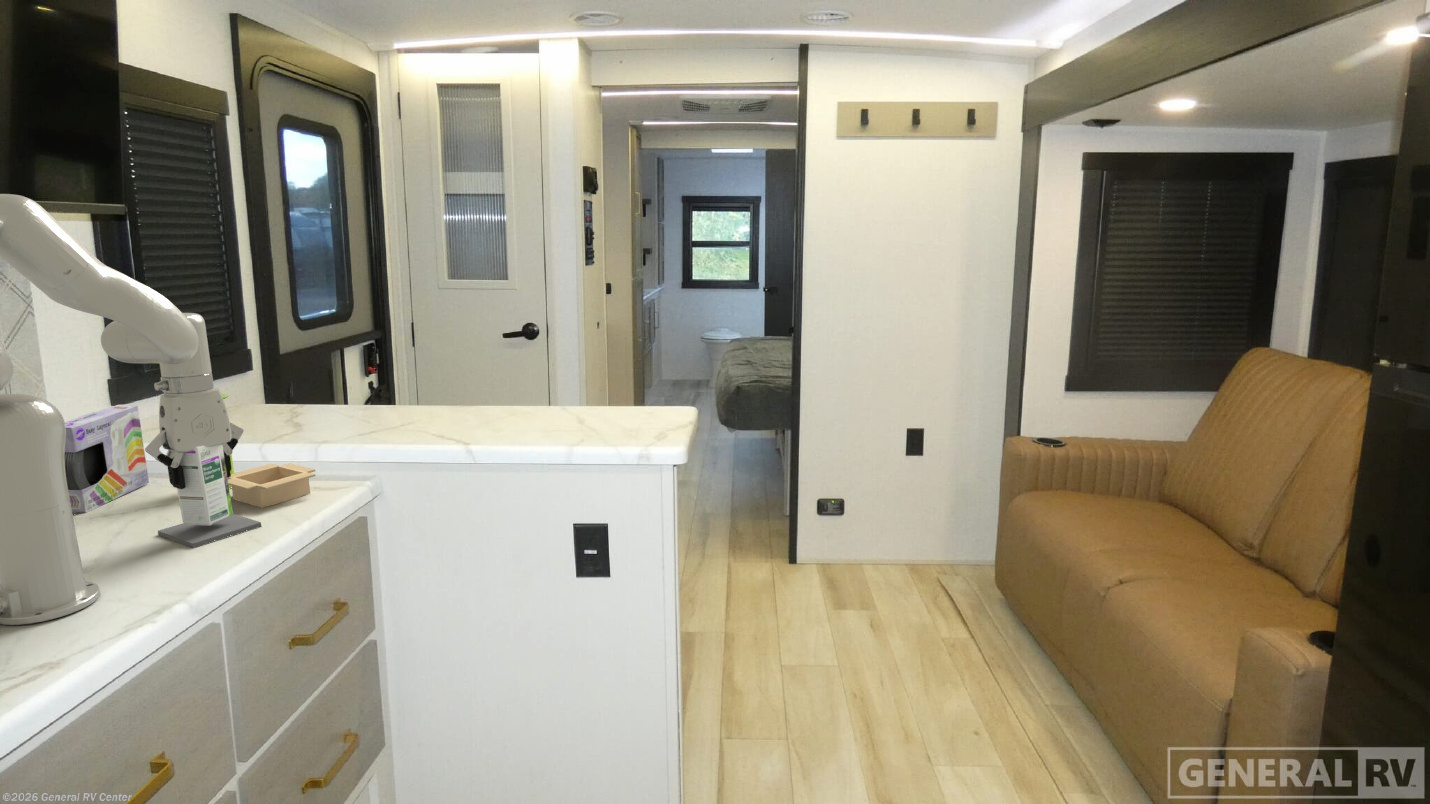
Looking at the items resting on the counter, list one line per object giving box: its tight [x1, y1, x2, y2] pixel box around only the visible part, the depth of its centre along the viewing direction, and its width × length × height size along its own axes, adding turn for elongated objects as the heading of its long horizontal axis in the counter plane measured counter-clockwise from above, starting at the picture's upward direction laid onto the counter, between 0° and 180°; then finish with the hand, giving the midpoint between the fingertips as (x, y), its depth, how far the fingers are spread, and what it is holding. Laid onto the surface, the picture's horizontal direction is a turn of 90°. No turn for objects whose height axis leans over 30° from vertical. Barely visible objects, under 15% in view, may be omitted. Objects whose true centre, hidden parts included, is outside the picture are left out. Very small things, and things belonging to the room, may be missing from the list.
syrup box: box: [176, 445, 234, 526], centre depth 152 cm, size 6×6×14 cm
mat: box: [157, 513, 262, 549], centre depth 154 cm, size 12×12×1 cm
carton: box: [228, 462, 316, 509], centre depth 173 cm, size 14×15×4 cm
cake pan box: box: [64, 404, 150, 514], centre depth 171 cm, size 19×5×18 cm, turn 177°
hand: (202, 481), depth 152 cm, fingers closed on syrup box, 7 cm apart
